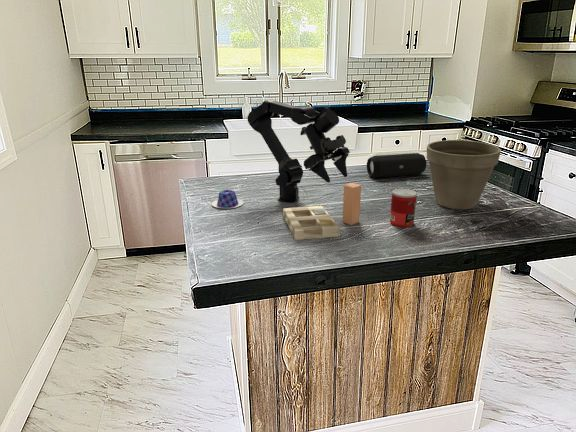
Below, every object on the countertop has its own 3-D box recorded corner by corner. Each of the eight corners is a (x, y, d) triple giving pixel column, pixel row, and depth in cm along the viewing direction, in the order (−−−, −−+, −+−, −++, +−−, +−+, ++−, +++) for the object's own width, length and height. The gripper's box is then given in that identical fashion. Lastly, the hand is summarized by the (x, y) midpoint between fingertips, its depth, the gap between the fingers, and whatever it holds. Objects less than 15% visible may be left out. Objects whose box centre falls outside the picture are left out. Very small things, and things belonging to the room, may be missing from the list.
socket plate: (283, 216, 156) (283, 207, 155) (321, 213, 158) (322, 204, 157) (295, 240, 137) (295, 230, 136) (339, 236, 140) (339, 226, 138)
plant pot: (453, 219, 153) (461, 157, 145) (407, 198, 174) (413, 143, 166) (506, 208, 162) (517, 150, 154) (457, 190, 183) (464, 137, 175)
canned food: (409, 229, 145) (412, 197, 141) (386, 224, 149) (388, 193, 145) (416, 221, 151) (420, 190, 147) (394, 217, 155) (396, 187, 151)
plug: (342, 221, 151) (343, 185, 146) (350, 218, 154) (352, 182, 149) (351, 225, 148) (353, 187, 144) (359, 222, 151) (361, 185, 146)
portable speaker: (373, 180, 197) (375, 158, 193) (365, 174, 206) (366, 153, 202) (426, 176, 202) (428, 155, 199) (415, 171, 211) (417, 150, 208)
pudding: (218, 198, 175) (217, 186, 174) (247, 200, 173) (247, 188, 171) (206, 209, 164) (205, 195, 163) (237, 211, 162) (236, 197, 160)
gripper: (313, 131, 142) (335, 174, 141) (349, 124, 155) (370, 163, 153) (294, 148, 151) (314, 189, 149) (329, 140, 163) (348, 177, 161)
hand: (337, 179), depth 153 cm, fingers open, 9 cm apart
